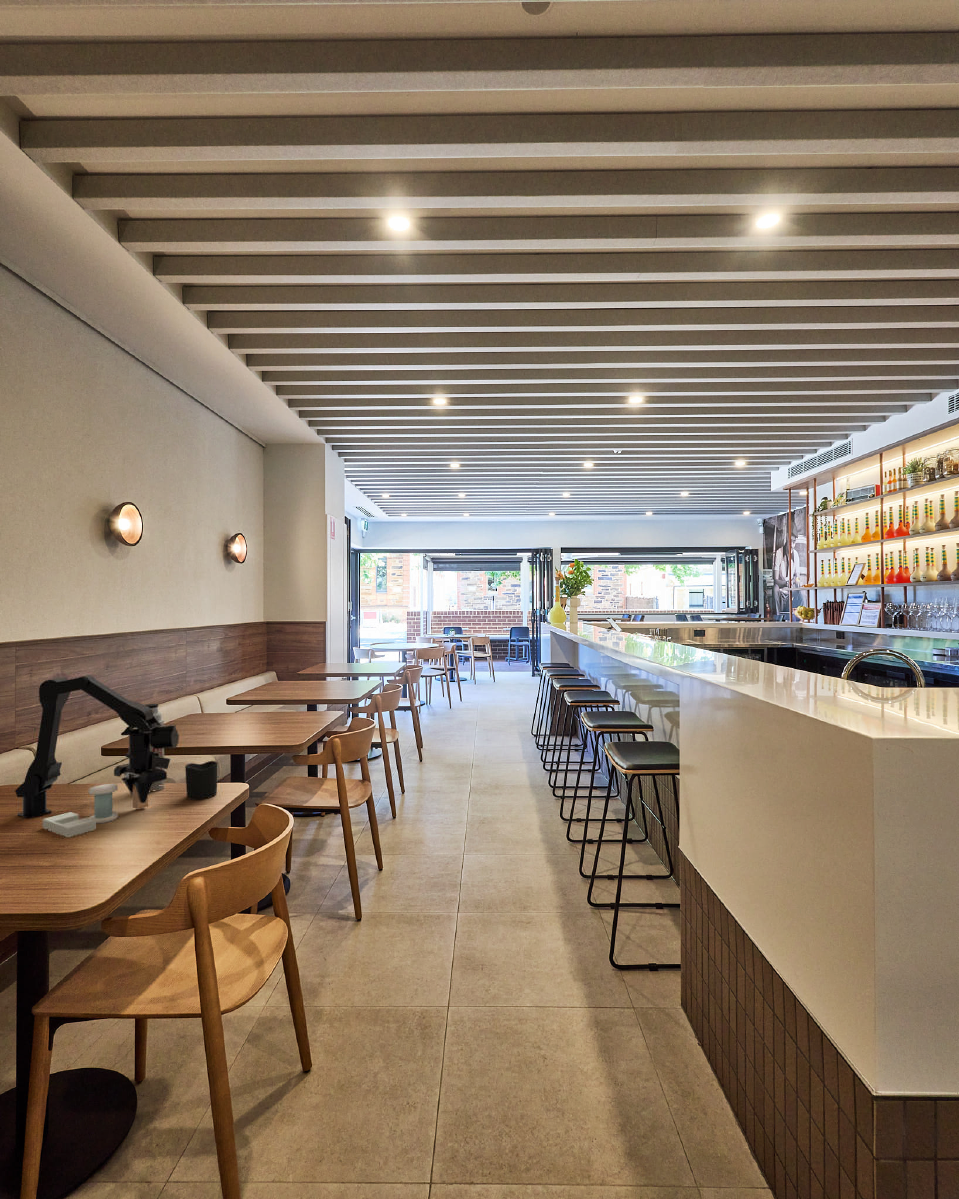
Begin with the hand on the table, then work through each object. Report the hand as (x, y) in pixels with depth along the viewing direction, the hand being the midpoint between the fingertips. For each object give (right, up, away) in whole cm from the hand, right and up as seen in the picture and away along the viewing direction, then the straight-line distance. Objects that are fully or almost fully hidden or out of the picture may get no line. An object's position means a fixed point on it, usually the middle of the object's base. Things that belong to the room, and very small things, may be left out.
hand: (140, 801), depth 189 cm
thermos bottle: (-8, -3, +21) cm, 23 cm away
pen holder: (+13, -2, +13) cm, 18 cm away
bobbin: (-6, -2, -9) cm, 11 cm away
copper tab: (0, -2, 0) cm, 2 cm away
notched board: (-11, -2, -16) cm, 20 cm away
